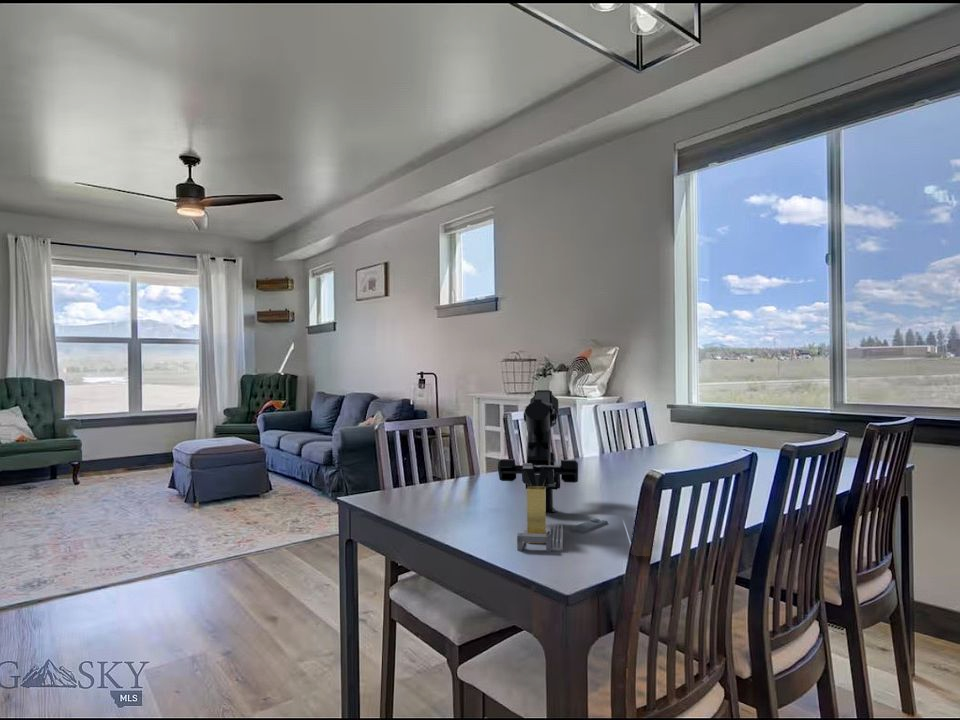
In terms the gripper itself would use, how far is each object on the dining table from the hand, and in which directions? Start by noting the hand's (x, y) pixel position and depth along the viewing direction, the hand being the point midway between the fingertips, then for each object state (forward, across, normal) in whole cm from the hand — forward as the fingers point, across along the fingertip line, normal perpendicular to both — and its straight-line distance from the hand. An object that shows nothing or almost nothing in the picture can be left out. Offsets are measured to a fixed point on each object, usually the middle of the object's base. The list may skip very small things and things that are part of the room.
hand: (536, 501), depth 133 cm
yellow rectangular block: (+8, 0, -3) cm, 8 cm away
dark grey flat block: (+1, -12, -11) cm, 16 cm away
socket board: (+9, 0, -2) cm, 10 cm away
